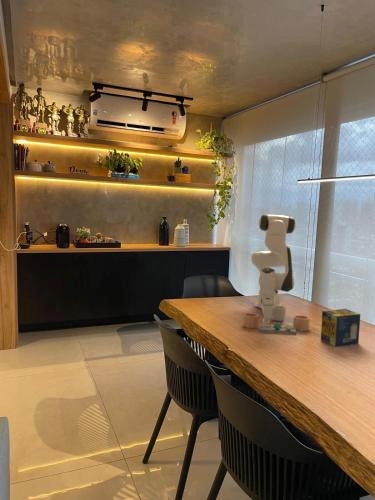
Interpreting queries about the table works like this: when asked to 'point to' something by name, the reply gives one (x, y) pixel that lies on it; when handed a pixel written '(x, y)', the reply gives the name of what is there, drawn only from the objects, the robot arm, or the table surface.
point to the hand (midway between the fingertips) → (265, 322)
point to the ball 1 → (264, 322)
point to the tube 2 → (301, 323)
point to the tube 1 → (251, 320)
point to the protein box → (340, 327)
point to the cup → (278, 313)
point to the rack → (272, 330)
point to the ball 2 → (277, 325)
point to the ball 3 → (288, 326)
